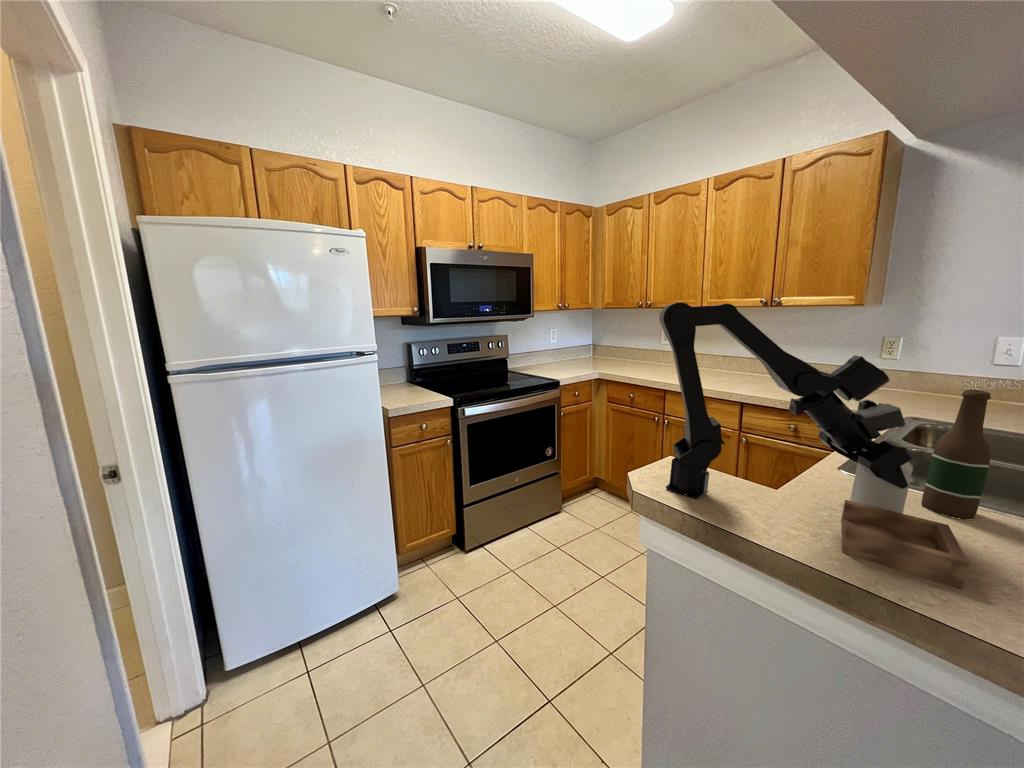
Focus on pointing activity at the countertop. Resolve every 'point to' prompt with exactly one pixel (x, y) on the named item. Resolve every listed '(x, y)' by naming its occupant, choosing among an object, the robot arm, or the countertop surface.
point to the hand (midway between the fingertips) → (890, 478)
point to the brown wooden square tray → (903, 543)
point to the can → (880, 490)
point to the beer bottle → (960, 462)
